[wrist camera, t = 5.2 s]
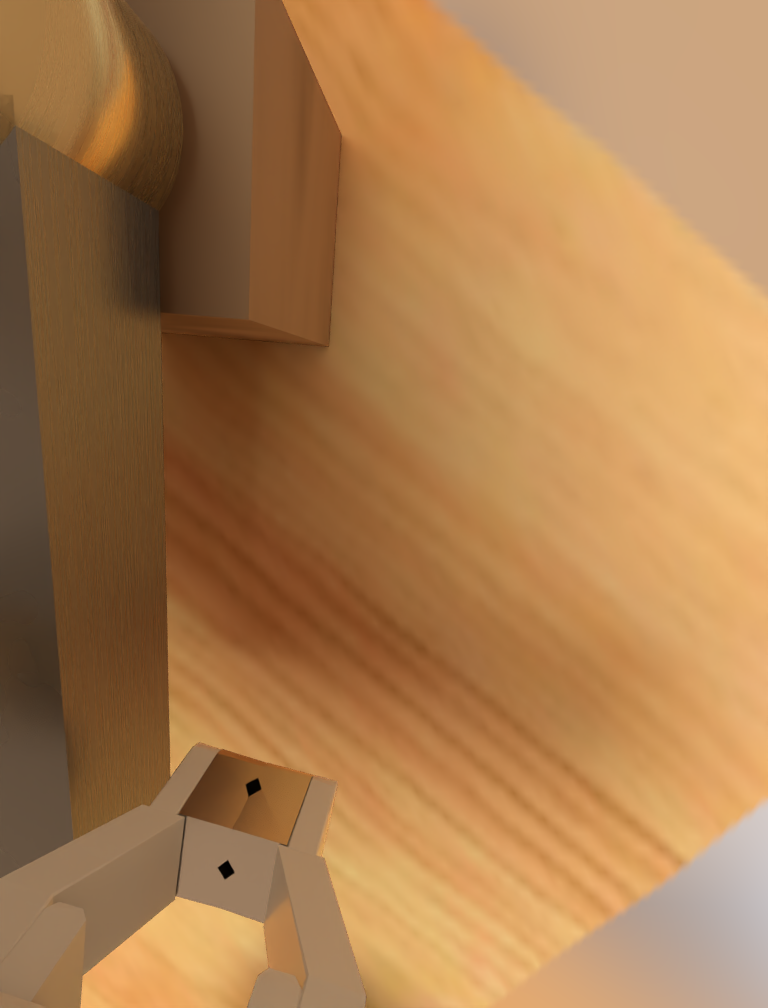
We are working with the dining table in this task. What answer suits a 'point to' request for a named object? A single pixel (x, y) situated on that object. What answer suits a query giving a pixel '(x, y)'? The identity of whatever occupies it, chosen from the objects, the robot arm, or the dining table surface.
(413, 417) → the dining table surface
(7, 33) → the bar
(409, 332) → the dining table surface
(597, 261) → the dining table surface
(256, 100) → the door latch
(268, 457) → the dining table surface
